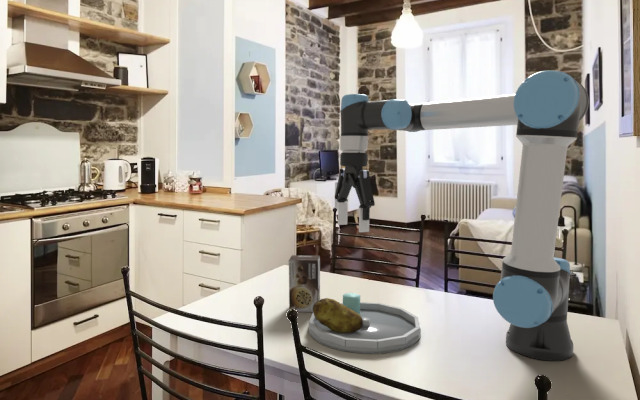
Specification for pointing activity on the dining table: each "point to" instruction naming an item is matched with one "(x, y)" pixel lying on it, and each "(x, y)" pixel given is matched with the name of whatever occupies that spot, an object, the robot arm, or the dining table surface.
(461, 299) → the dining table surface
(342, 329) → the potato
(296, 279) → the coffee box
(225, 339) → the dining table surface
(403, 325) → the ring tray
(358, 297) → the bead
